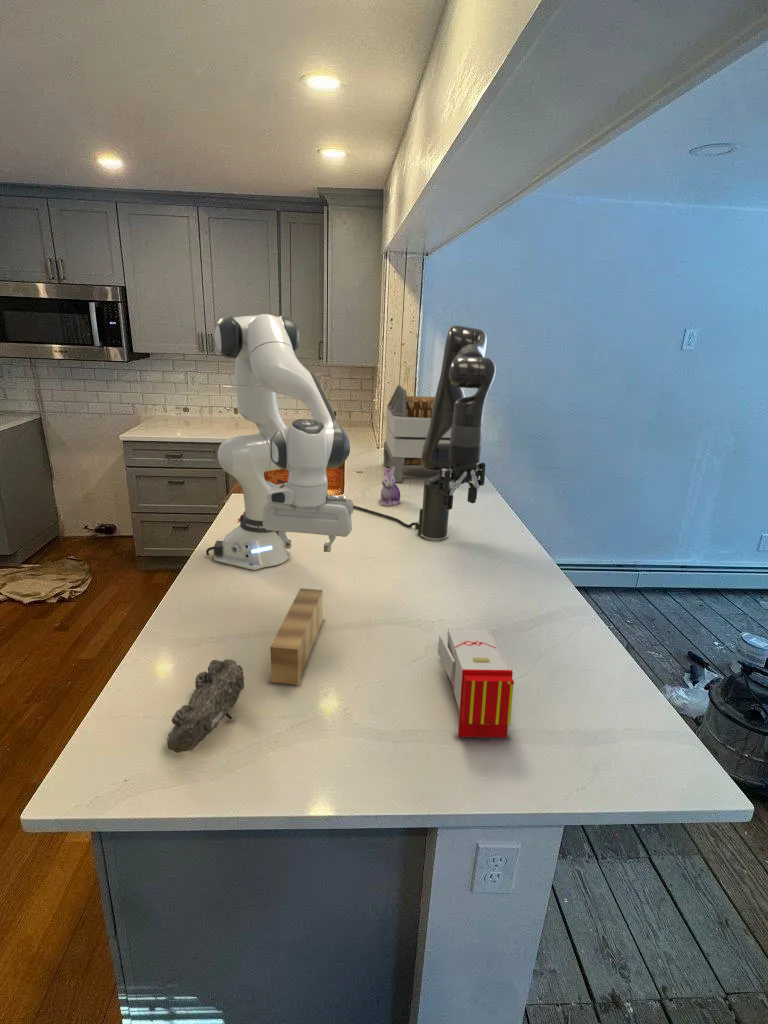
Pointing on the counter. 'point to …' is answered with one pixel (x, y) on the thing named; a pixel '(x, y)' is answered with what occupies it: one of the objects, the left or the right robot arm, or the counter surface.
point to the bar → (296, 637)
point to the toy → (478, 682)
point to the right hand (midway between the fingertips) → (459, 505)
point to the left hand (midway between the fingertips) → (307, 549)
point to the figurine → (389, 489)
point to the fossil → (206, 705)
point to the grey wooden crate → (407, 430)
